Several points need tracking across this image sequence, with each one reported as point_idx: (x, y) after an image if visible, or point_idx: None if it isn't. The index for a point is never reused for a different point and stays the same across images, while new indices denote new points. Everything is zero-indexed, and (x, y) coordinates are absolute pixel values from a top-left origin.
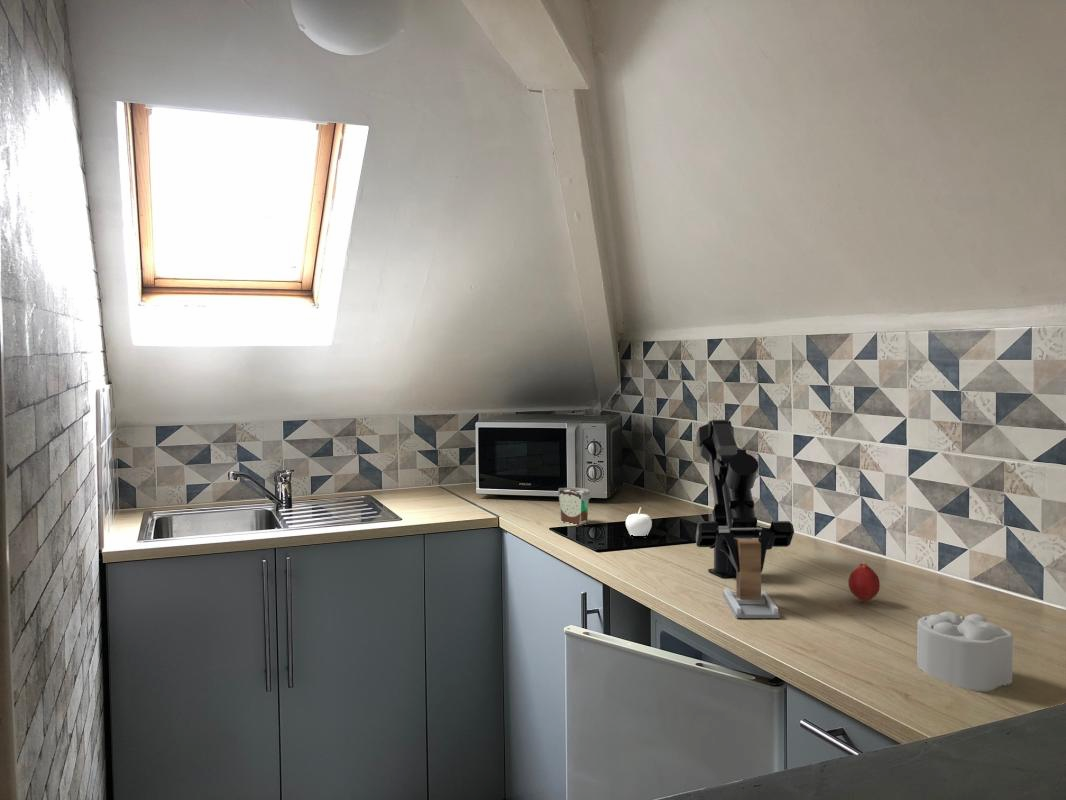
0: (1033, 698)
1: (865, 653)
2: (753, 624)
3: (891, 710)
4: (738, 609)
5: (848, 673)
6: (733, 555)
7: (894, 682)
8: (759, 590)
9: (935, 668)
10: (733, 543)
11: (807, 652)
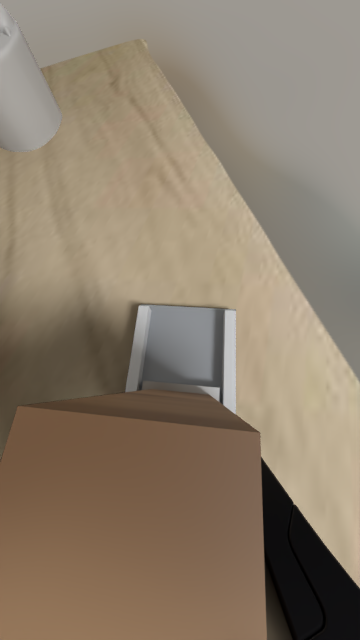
0: None
1: (87, 164)
2: (206, 278)
3: (144, 61)
4: (231, 311)
5: (141, 117)
6: (269, 474)
7: (106, 102)
8: (150, 390)
9: (52, 94)
10: (317, 623)
11: (161, 166)
